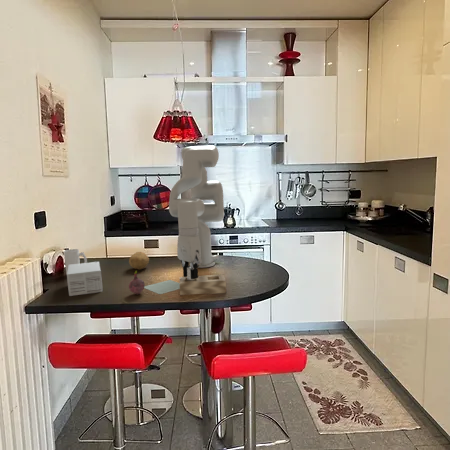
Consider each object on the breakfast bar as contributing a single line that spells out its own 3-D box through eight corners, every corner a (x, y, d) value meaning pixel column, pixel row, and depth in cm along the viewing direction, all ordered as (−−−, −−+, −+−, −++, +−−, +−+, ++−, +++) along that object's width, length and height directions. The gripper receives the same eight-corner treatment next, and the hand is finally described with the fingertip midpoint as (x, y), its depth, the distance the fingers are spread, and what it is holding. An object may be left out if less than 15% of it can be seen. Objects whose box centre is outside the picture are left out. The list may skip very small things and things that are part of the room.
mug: (64, 277, 180) (61, 252, 178) (68, 273, 186) (65, 249, 185) (86, 275, 181) (84, 251, 179) (89, 272, 188) (87, 248, 186)
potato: (127, 273, 183) (126, 257, 182) (131, 266, 197) (130, 251, 196) (148, 272, 184) (147, 256, 183) (150, 265, 198) (149, 250, 197)
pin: (192, 289, 154) (191, 266, 152) (196, 291, 152) (196, 267, 150) (186, 291, 152) (185, 267, 150) (190, 293, 150) (189, 269, 148)
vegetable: (127, 298, 147) (125, 272, 145) (131, 292, 153) (129, 268, 152) (143, 297, 147) (141, 272, 145) (146, 292, 153) (145, 268, 152)
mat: (170, 280, 168) (170, 279, 168) (188, 287, 158) (188, 286, 158) (141, 287, 159) (141, 287, 159) (159, 295, 149) (159, 294, 149)
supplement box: (69, 285, 167) (68, 264, 166) (101, 281, 172) (99, 261, 170) (68, 296, 152) (66, 273, 150) (102, 292, 156) (101, 269, 155)
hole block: (223, 285, 158) (223, 274, 157) (226, 292, 149) (225, 280, 148) (180, 288, 156) (179, 277, 155) (180, 296, 147) (179, 283, 146)
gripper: (168, 231, 152) (171, 275, 155) (193, 235, 140) (196, 283, 143) (183, 228, 157) (185, 271, 160) (209, 232, 145) (211, 279, 147)
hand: (190, 276), depth 151 cm, fingers open, 4 cm apart
